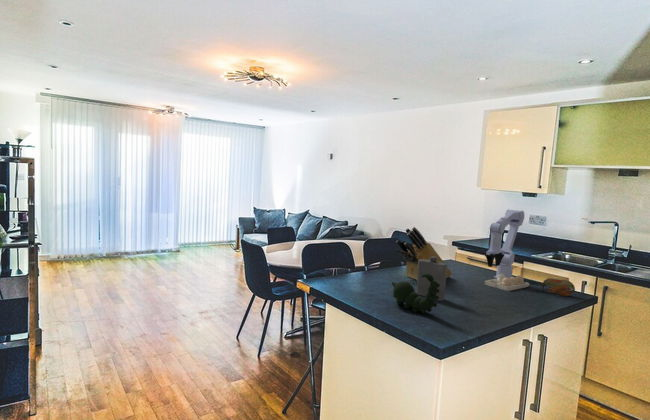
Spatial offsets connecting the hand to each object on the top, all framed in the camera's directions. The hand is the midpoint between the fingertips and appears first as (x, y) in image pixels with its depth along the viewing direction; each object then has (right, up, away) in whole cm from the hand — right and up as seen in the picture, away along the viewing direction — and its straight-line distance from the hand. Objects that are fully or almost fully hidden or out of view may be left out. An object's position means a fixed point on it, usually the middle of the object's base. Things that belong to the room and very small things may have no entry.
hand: (493, 266), depth 229 cm
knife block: (-42, -7, +1) cm, 43 cm away
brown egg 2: (+11, -10, -8) cm, 17 cm away
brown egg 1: (0, -10, -15) cm, 18 cm away
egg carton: (+3, -10, -9) cm, 14 cm away
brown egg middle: (+5, -10, -11) cm, 16 cm away
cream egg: (+2, -9, -6) cm, 11 cm away
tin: (+26, -13, -20) cm, 35 cm away
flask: (-48, -10, -37) cm, 61 cm away
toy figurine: (-61, -11, -57) cm, 85 cm away
